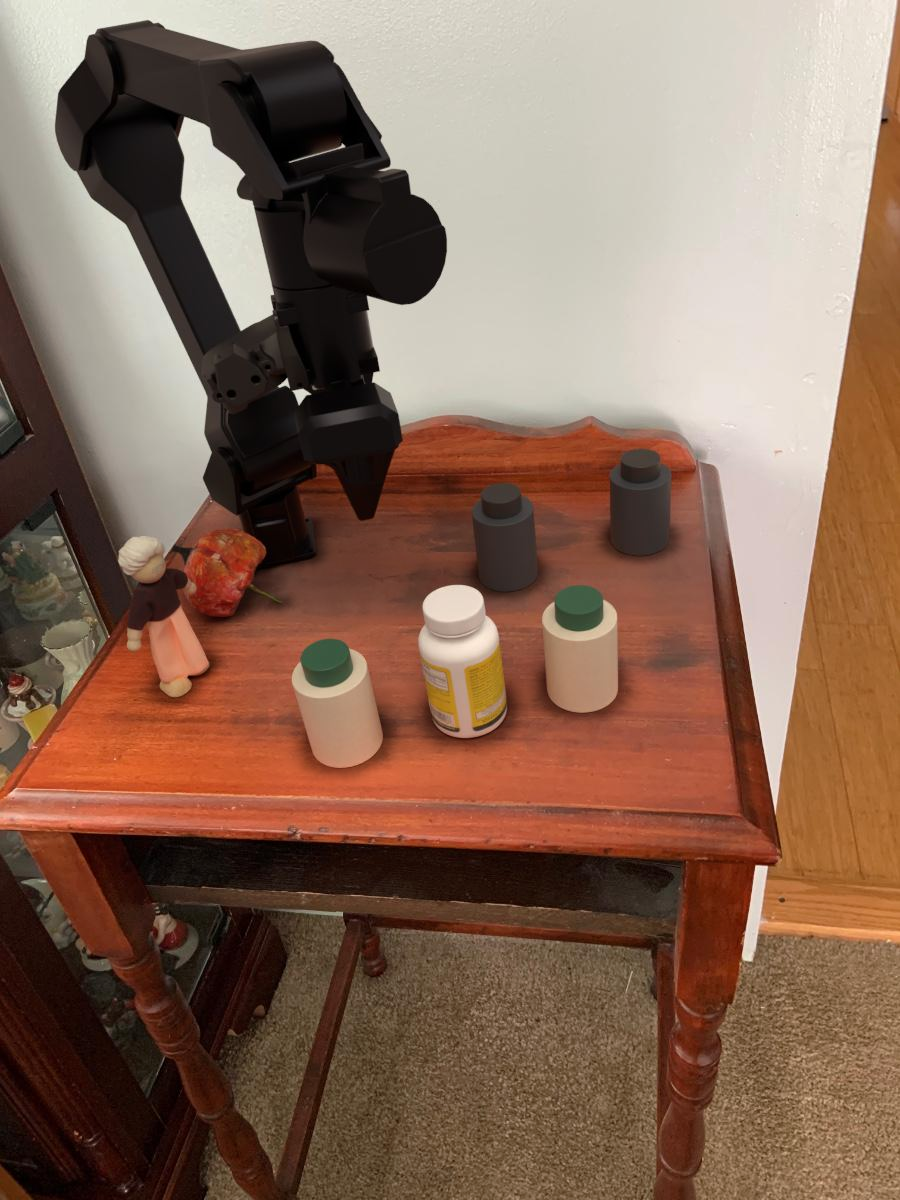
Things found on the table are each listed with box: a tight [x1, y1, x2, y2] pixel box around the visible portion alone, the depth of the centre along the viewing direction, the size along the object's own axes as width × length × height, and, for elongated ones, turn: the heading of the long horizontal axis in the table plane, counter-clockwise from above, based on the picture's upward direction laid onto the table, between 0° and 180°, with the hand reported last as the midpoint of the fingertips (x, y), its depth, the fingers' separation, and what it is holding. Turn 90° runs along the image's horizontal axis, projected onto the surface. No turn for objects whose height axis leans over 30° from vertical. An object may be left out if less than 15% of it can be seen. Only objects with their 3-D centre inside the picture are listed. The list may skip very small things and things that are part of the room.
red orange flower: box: [168, 528, 282, 618], centre depth 76 cm, size 7×7×10 cm
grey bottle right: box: [609, 448, 672, 557], centre depth 76 cm, size 5×5×8 cm
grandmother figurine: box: [117, 535, 210, 698], centre depth 68 cm, size 8×4×13 cm, turn 168°
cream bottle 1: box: [291, 638, 384, 769], centre depth 61 cm, size 5×5×8 cm
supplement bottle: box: [417, 584, 508, 739], centre depth 61 cm, size 5×5×10 cm
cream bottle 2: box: [541, 584, 619, 714], centre depth 62 cm, size 5×5×8 cm
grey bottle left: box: [471, 482, 539, 593], centre depth 75 cm, size 5×5×8 cm
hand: (358, 488), depth 67 cm, fingers open, 9 cm apart
